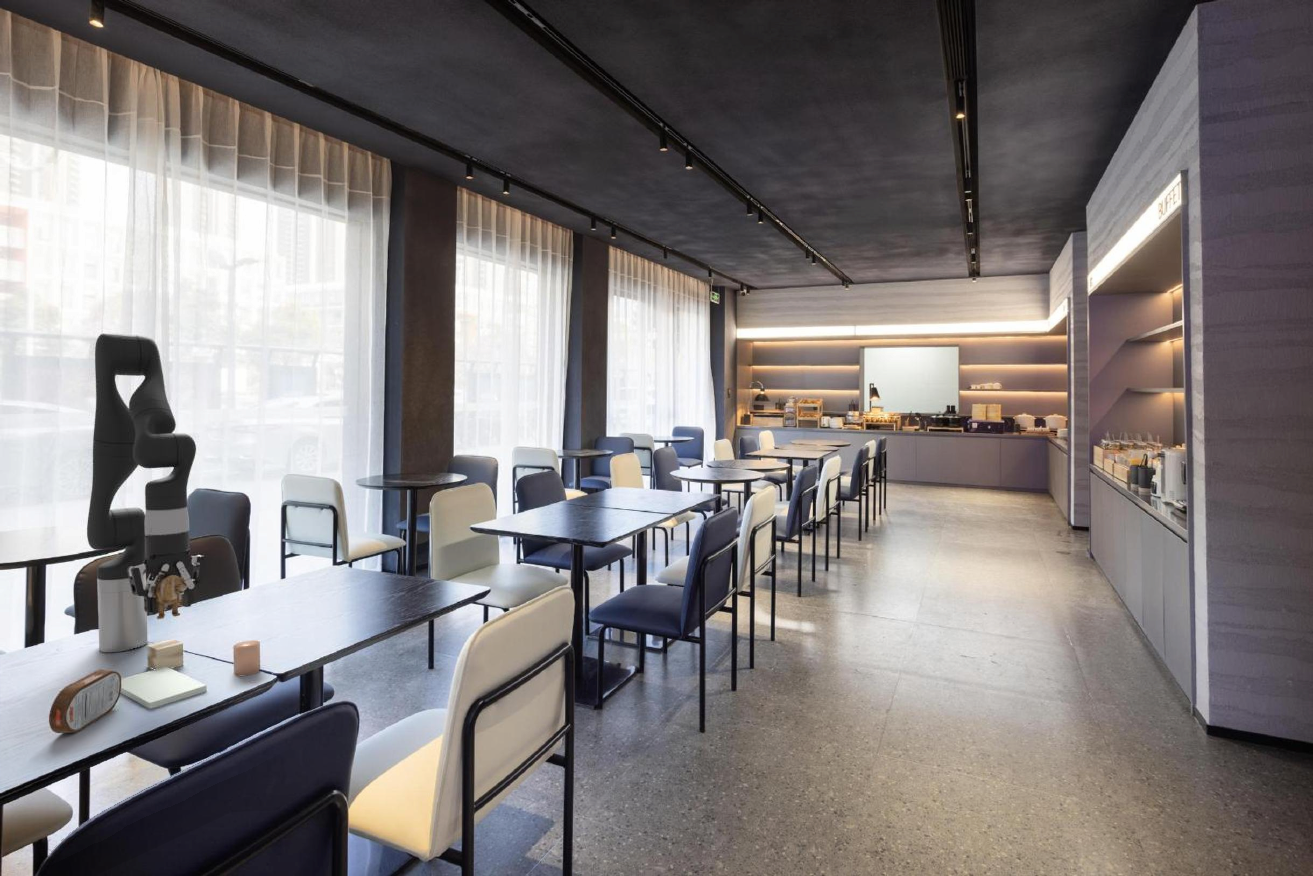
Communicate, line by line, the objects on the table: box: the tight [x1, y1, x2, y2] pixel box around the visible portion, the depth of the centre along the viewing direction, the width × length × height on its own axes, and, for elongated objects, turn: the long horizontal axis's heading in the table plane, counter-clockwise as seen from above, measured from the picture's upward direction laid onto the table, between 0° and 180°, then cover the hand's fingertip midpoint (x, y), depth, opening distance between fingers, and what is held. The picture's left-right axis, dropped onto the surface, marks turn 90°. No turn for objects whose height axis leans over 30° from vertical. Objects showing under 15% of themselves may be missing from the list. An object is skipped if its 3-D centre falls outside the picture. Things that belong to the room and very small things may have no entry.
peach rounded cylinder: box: [232, 640, 261, 676], centre depth 151 cm, size 5×5×6 cm
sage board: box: [121, 667, 208, 710], centre depth 141 cm, size 18×10×1 cm, turn 57°
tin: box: [48, 668, 122, 734], centre depth 127 cm, size 15×3×8 cm, turn 5°
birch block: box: [146, 638, 184, 670], centre depth 154 cm, size 5×5×5 cm
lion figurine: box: [154, 575, 188, 620], centre depth 144 cm, size 15×5×9 cm, turn 37°
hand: (169, 610), depth 143 cm, fingers closed on lion figurine, 6 cm apart
